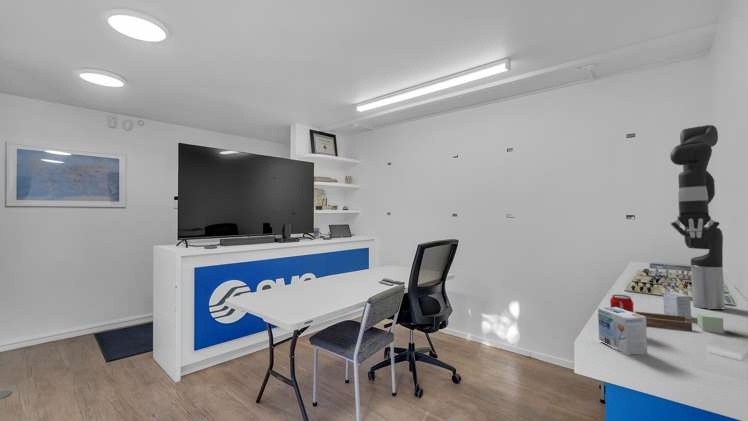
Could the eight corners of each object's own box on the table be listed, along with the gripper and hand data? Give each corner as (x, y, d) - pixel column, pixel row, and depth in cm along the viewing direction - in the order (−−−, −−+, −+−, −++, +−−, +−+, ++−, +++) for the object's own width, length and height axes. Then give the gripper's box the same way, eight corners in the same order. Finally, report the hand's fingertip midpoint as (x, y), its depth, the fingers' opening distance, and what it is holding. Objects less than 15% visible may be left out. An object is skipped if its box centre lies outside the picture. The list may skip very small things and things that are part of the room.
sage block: (697, 326, 114) (697, 312, 114) (717, 328, 111) (717, 314, 111) (702, 331, 109) (702, 316, 110) (723, 333, 107) (723, 318, 107)
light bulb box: (598, 341, 103) (596, 307, 103) (618, 340, 104) (616, 306, 104) (627, 356, 93) (625, 317, 93) (649, 354, 93) (647, 316, 93)
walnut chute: (635, 318, 124) (634, 311, 124) (684, 323, 117) (684, 316, 117) (639, 324, 117) (639, 317, 117) (692, 330, 110) (691, 323, 110)
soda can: (630, 329, 113) (628, 294, 113) (638, 335, 107) (636, 299, 107) (608, 327, 115) (607, 293, 115) (615, 334, 109) (613, 298, 109)
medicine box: (692, 320, 120) (690, 296, 121) (677, 319, 121) (676, 296, 121) (676, 313, 128) (675, 291, 128) (663, 313, 129) (662, 291, 129)
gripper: (714, 199, 116) (716, 247, 116) (665, 201, 123) (668, 246, 123) (723, 198, 110) (725, 249, 110) (671, 200, 117) (673, 248, 116)
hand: (695, 248), depth 116 cm, fingers closed
